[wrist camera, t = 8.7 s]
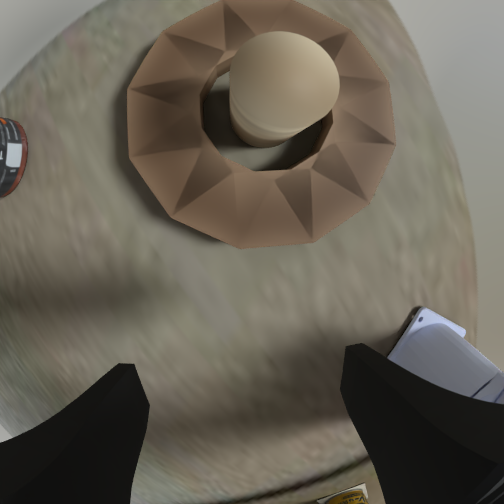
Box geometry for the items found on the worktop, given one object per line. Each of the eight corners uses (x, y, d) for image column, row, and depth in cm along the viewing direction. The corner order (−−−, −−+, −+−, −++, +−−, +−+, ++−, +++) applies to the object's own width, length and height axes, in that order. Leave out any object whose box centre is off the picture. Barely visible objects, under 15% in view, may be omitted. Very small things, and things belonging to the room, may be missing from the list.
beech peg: (279, 159, 16) (312, 147, 9) (217, 129, 15) (209, 96, 9) (308, 104, 15) (354, 65, 9) (249, 74, 15) (261, 16, 8)
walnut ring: (316, 276, 18) (325, 287, 16) (101, 178, 15) (87, 179, 14) (405, 85, 15) (420, 79, 13) (210, -12, 12) (209, -28, 10)
